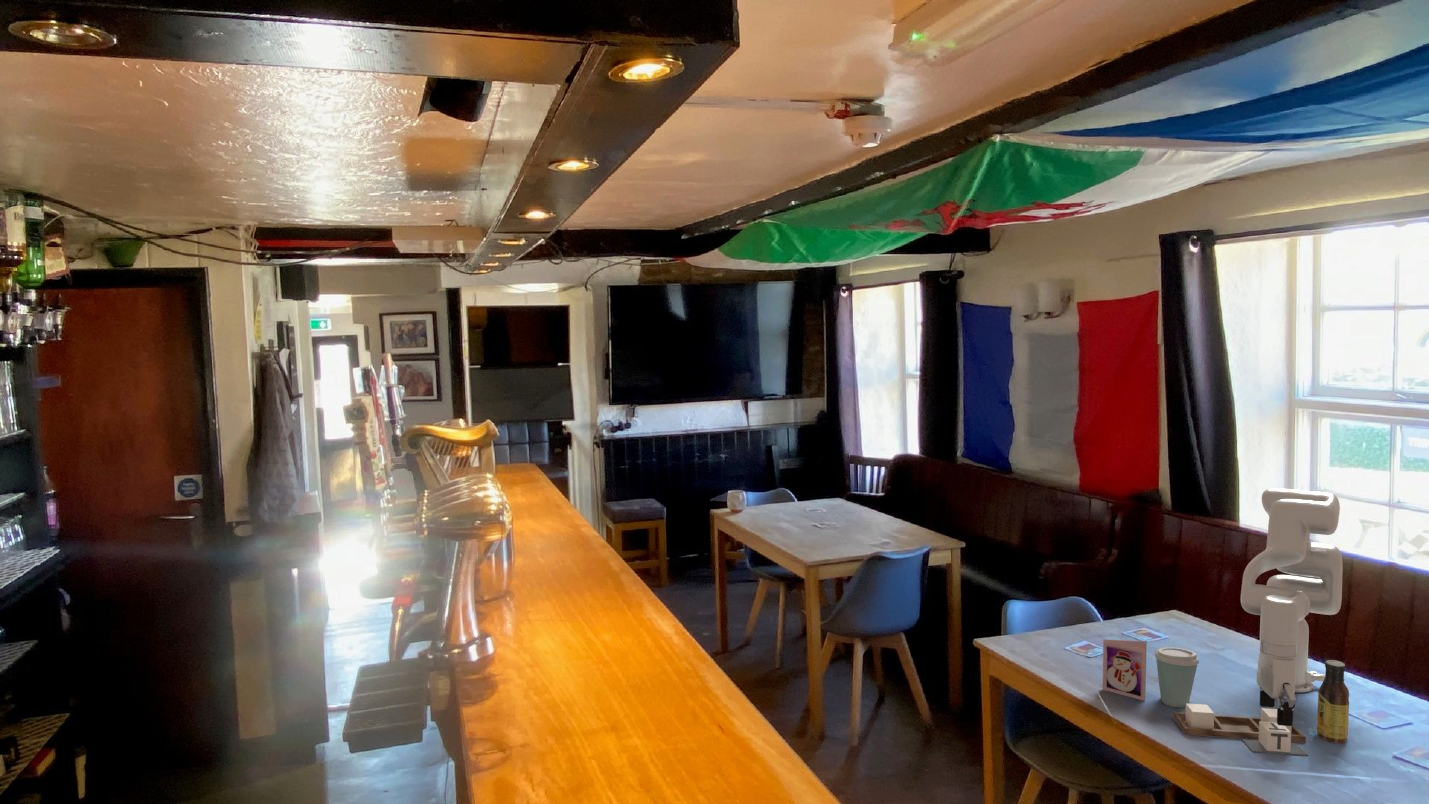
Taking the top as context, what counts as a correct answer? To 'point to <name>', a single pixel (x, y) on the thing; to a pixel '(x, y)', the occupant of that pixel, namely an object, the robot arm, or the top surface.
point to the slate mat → (1258, 748)
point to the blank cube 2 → (1270, 716)
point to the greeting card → (1125, 667)
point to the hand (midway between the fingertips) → (1275, 715)
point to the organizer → (1232, 727)
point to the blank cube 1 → (1199, 716)
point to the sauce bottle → (1333, 704)
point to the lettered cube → (1274, 737)
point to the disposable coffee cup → (1176, 675)
